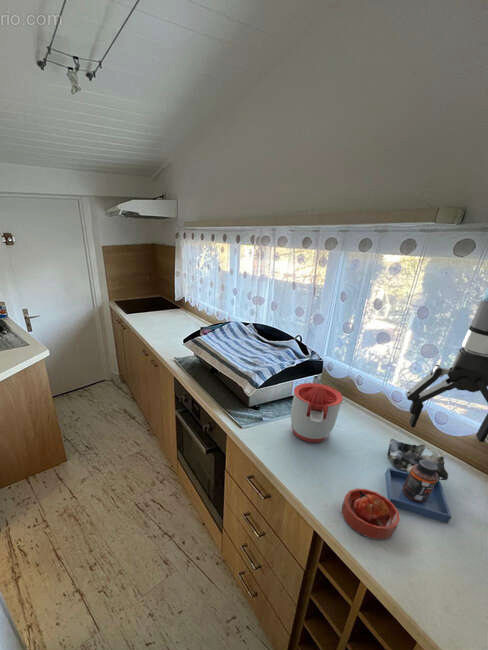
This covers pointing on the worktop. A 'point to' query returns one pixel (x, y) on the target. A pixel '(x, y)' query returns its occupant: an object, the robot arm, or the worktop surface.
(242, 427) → the worktop surface
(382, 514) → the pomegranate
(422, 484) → the supplement bottle
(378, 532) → the red bowl
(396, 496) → the blue tray
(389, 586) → the worktop surface
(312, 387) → the citrus juicer
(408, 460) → the foil
